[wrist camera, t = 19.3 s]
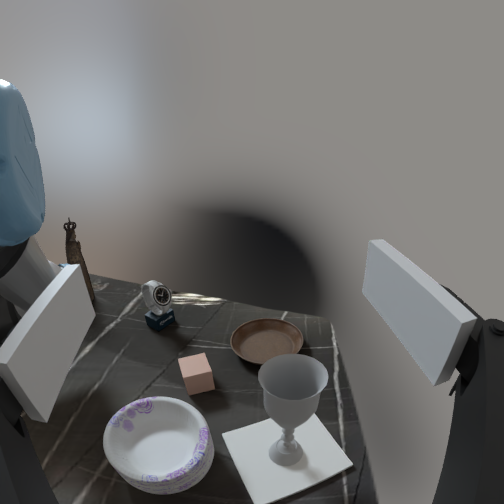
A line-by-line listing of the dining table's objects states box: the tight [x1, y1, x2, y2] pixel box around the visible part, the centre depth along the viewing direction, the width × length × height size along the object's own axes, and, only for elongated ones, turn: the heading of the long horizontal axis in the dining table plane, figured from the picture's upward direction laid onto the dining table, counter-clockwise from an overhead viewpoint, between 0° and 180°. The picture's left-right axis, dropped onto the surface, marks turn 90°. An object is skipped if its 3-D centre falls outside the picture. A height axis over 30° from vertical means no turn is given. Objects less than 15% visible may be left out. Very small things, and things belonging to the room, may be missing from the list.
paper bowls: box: [103, 397, 214, 494], centre depth 34 cm, size 15×15×8 cm
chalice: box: [258, 354, 328, 466], centre depth 32 cm, size 7×7×18 cm
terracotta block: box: [178, 353, 215, 396], centre depth 50 cm, size 5×5×5 cm
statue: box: [64, 220, 94, 302], centre depth 73 cm, size 9×8×25 cm
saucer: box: [230, 318, 303, 365], centre depth 60 cm, size 15×15×3 cm
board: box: [222, 413, 353, 504], centre depth 36 cm, size 15×14×1 cm
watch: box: [142, 280, 175, 331], centre depth 66 cm, size 6×8×11 cm
